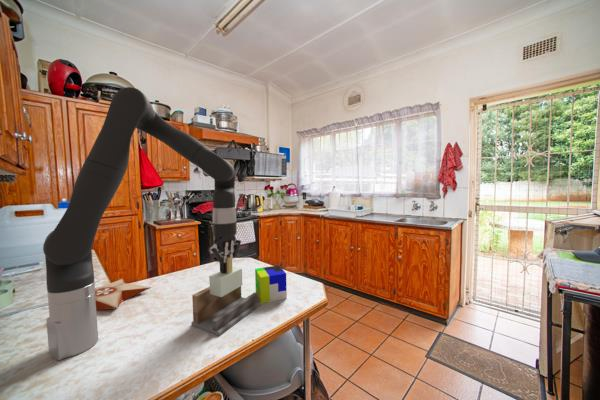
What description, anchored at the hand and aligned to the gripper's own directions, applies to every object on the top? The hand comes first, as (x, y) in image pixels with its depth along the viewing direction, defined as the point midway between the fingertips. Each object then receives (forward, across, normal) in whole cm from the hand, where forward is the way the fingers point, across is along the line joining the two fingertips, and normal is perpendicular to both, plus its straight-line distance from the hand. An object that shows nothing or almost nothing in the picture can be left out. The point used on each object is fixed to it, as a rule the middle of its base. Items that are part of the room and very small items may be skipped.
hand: (226, 271), depth 81 cm
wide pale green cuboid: (+6, 0, 0) cm, 6 cm away
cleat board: (+15, 0, -1) cm, 15 cm away
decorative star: (+15, -14, +49) cm, 54 cm away
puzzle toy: (+15, +18, -6) cm, 24 cm away
